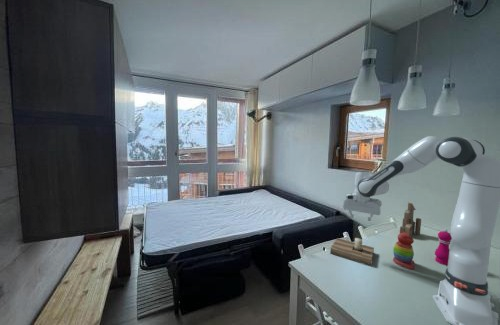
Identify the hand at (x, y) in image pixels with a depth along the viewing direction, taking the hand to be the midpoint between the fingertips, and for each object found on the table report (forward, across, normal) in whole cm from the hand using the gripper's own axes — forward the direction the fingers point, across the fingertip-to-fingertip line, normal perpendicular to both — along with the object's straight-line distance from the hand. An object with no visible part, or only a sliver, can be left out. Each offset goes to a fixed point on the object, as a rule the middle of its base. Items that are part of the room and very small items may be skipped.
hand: (360, 219), depth 125 cm
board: (+22, +3, +1) cm, 23 cm away
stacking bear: (+23, -23, -4) cm, 32 cm away
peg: (+22, 0, +1) cm, 22 cm away
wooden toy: (+23, -29, -58) cm, 69 cm away
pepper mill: (+23, -42, -20) cm, 52 cm away
